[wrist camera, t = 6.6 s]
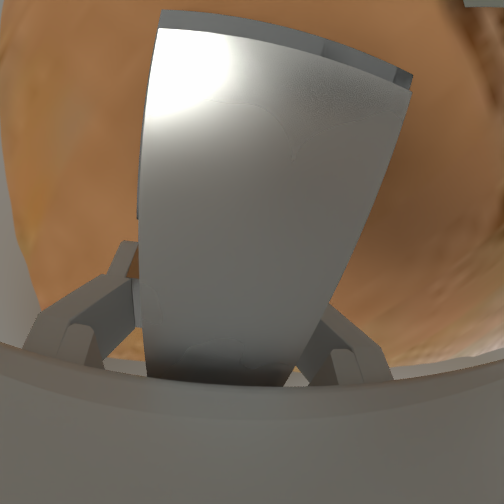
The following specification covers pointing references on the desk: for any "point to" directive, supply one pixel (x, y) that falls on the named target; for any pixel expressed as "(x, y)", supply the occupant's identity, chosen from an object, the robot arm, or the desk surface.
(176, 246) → the panel
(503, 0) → the bracket
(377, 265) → the desk surface
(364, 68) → the rack
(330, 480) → the robot arm
